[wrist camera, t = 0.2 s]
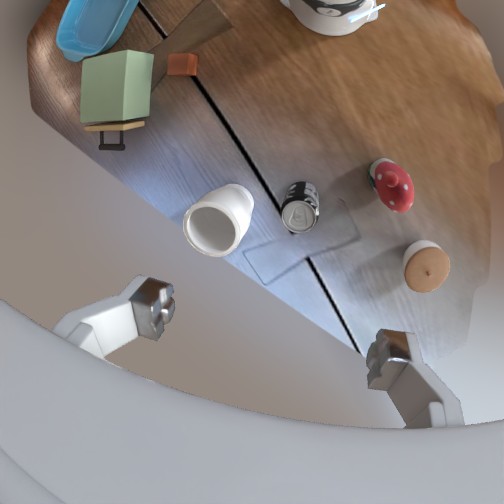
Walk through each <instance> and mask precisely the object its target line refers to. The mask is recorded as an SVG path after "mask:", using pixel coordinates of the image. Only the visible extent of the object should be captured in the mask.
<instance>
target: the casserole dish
mask: <svg viewBox="0 0 504 504" xmlns="http://www.w3.org/2000/svg"><path fill="white" fill-rule="evenodd" d="M138 1H139V0H70V1H69V3H68V5H67V7H66V9H65V12H64V14H63V16H62V19H61V21H60V24H59V27H58V30H57V35H56V44H57V46H58V48H59V49H60V50H62V52H63V55H64V57H65V59H66V60H68V61H72V62H80V61H81V60H83V59H84V58H85V57H86V56H93V55H96V54H99V53H102V52H104V51H106V50H108V49H109V48H111V47H112V46H113V45H114V44H115V43H116V42H117V40H118V39H119V38H120V36H121V34H122V33H123V31H124V29H125V27H126V25H127V23H128V21H129V19H130V17H131V15H132V13H133V11H134V9H135V7H136V5H137V3H138Z"/></svg>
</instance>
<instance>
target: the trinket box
mask: <svg viewBox="0 0 504 504" xmlns="http://www.w3.org/2000/svg"><path fill="white" fill-rule="evenodd" d="M402 268H403V273H404V276H405V280H406V283H407V285H408V286H409V287H410V288H411V289H412V290H414V291H416V292H421V293H425V292H430V291H432V290H435V289H436V288H438V287H439V286H440V285H441V284H442V283H443V282H444V281H445V280H446V278H447V276H448V274H449V270H450V261H449V258H448V256H447V255H446V253H445V252H444V251H443V250H442V249H441V248H440V247H439V246H438V245H437V244H435V243H434V242H432V241H429V240H420V241H417V242H414V243H413V244H411V245H410V246H409V247H408V249H407V250H406V252H405V254H404V256H403V261H402Z"/></svg>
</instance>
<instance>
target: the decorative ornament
mask: <svg viewBox="0 0 504 504" xmlns="http://www.w3.org/2000/svg"><path fill="white" fill-rule="evenodd" d="M368 179H369V182H370V184H371V187H372V188H373V190H374V192H375V193H376V194H378V196H379V198H380V199H381V201H382V202H383V203H384V204H385V205H386V206H387V207H388V208H390V209H391V210H392V211H394V212H397V213H403V212H406V211H407V210H408V209H409V208H410V207H411V206H412V204H413V201H414V189H413V184H412V181H411V178H410V176H409V175H408V174H407V172H406V171H404V170H403V169H402V168H401V167H399V166H398V165H397V164H395V163H394V162H393V161H391V160H389V159H386V158H382V159H378V160H377V161H375V162H374V163H373V164H372V165H370V167H369V169H368Z"/></svg>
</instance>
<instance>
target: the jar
mask: <svg viewBox="0 0 504 504" xmlns="http://www.w3.org/2000/svg"><path fill="white" fill-rule="evenodd" d="M253 207H254V201H253V197H252V195H251V194H250V192H249V191H248V190H247V189H246V188H245V187H243V186H241V185H238V184H227V185H225V186H223V187H221V188H218V189H216V190H213V191H210V192H209V193H207V194H205V195H204V196H203V197H202V198H201V199H200V200H199V201H198V202H197V203H195V204H194V205H192V206H191V207H190V208H189V209H188V210H187V212H186V213H185V215H184V219H183V230H184V233H185V236H186V238H187V240H188V241H189V243H190V244H191V245H192V246H193V247H194V248H195V249H197V250H198V251H200V252H201V253H203V254H205V255H208V256H214V257H220V256H225V255H228V254H230V253H231V252H232V251H234V250H235V249H236V248H237V246H238V245H239V243H240V240H241V238H242V237H243V236H244V234H245V233H246V231H247V229H248V227H249V224H250V220H251V214H252V211H253Z"/></svg>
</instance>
